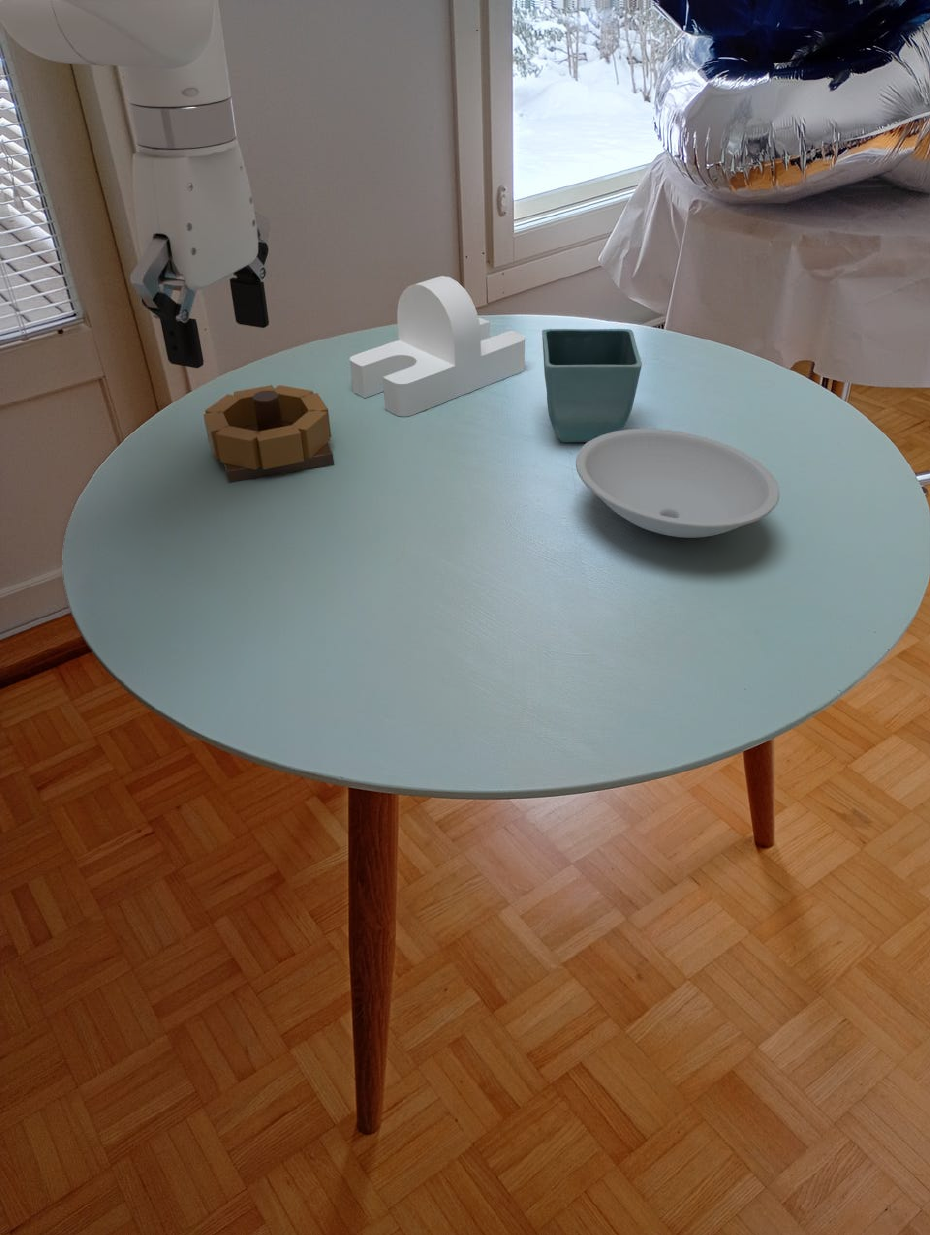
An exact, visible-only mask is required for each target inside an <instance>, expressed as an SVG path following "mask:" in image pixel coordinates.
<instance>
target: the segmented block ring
mask: <svg viewBox="0 0 930 1235" xmlns="http://www.w3.org/2000/svg"><path fill="white" fill-rule="evenodd" d="M268 390H269V391H275V392H277V393H278V396H279V403H280V410H281V417H282V421H285V422H290V423H294V424H293V425H291V426H285V427H280V428H275V429H270V430H265V431H260V432H257V431H252V430H247V429H243V428H244V427H245V426H249V425H254V424H257V421H256V415H255V409H254V402H253V395H254V394H256V393H257V392H260V391H268ZM203 421H204V425H205V430H206V434H207V440H208V443H209V446H210V449H211V450H212V453H213V455H214V458H215V460H220V463H221V464H222V463H223V464H224V463H226V464H231V465H236V466H241V467H246V468H250V469H255V470H256V469H257V468H258V467H260V466H262V468H263V469H269V468H273V467H278V466H283V465H288V464H293V463H298V462H303V461H304V457H305V458H311V457H313V456H314V455H315V454H316V453H317V452H318V451H319V450H320V449H321V448H323V447H324V446H325V445H326V444H327V443H328V444H329V442H330V441H331V438H332V432H331V422H330V414H329V408H328V407H327V406H326V404H325V402H324V401H323V399H322V398H321V397H320V395H319V393H318V392H315V393H314V392H313V390H310V389H305V388H300V387H299V388H298V387H292V386H287V385H282V384H278V385H277V386H275V387H274V386H273V384H271V385H265V386H260V387H253V388H247V389H243V390H238V391H233V394H229V393H228V394H226V395H225V396H223V397H222V398H221V399H219V400H217V401H216V402H215V403H213V404H212V405H211V406H209V407H208V408H207V409H205V410H204V414H203Z"/></svg>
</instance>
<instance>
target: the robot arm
mask: <svg viewBox="0 0 930 1235" xmlns="http://www.w3.org/2000/svg"><path fill="white" fill-rule="evenodd" d="M219 5H220V4H219V0H0V24H1V25H2V27H3V29H4V30H5V31H6V32H7V33H8V35H9V36H10V37H11V38H12V39H13V41H15V42H16V43H18V45H19V46H21V47H22V48H23V49H24V50H26V51H27V52H30V53H31V54H33V55H35V56H37V57H40V58H42V59H44V60H47V61H52V62H55V63H62V64H69V65H70V64H71V65H83V66H84V65H86V66H102V67H103V66H116V67H121V72H122V77H123V81H124V87H125V92H126V97H127V101H128V107H129V112H130V117H131V122H132V127H133V132H134V137H135V143H136V149H137V151H136V152H134V153H133V154H132V168H131V170H132V171H131V173H132V174H131V175H132V176H131V177H132V194H133V207H134V215H135V224H136V230H137V237H138V238H137V239H138V244H139V249H140V250H139V251H140V256H141V258H140V259H139V261H138V262H137V263H136V266H135V267H134V268H133V270H132V271H131V273H130V275H129V280H130V281H129V282H130V284H131V285H132V287H133V289H134V290H135V291H136V293H137V294H138V297H140V299H141V304H142V305H143V306H144V307H145V308H146V309H147V310H149V311H150V312H151V313H152V316H153V317H154V319H158V320H159V322H160V325H161V332H162V337H163V342H164V347H165V352H166V356H167V360H168V362H169V363H170V364H172V365H177V366H182V367H186V368H192V369H200V368H202V367H203V366H204V362H205V361H204V360H205V359H204V356H203V349H202V345H201V344H202V343H201V339H200V338H201V337H200V333H199V328H198V322H197V319H196V318H191V313H192V309H193V305H194V302H195V297H196V294H197V291H201V290H203V289H205V288H207V287H210V286H211V285H213V284H215V283H217V282H220V281H221V280H223V279H225V278H228V277H230V276H231V275H234V276H233V277H231V278H229V286H230V293H231V298H232V299H231V300H232V304H233V305H232V306H233V311H234V319H235V322H236V323H237V324H238V325H242V326H248V327H254V328H260V329H265V328H267V327H268V326H269V324H270V319H269V311H268V304H267V296H266V288H265V282H264V280H266V278H267V274H268V273H267V272H268V271H267V268H266V266H265V264H266V261H267V258H268V255H269V246H268V243H269V234H270V227H271V226H270V225H271V222H270V219H269V218H268V217H267V216H264V215H262V214H260V213H258V212H257V211H255V207H254V202H253V197H252V196H253V195H252V190H251V186H250V182H249V181H250V180H249V178H248V172H247V168H246V165H245V161H244V157H243V153H242V150H241V146H240V144H239V143H240V142H239V141H238V135H237V128H236V121H235V114H234V113H235V112H234V107H233V98H232V91H231V85H230V77H229V71H228V64H227V63H228V62H227V56H226V49H225V41H224V33H223V27H222V19H221V12H220V6H219ZM179 277H183V279H182V278H179ZM174 291H178V292H179V296H178V299H177V302H176V301H175V300H174V299H172V295H173V293H174Z"/></svg>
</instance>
